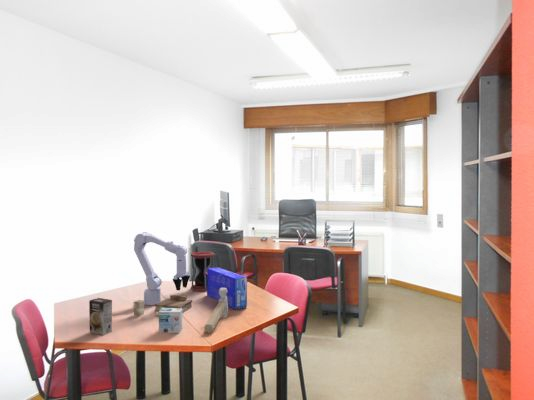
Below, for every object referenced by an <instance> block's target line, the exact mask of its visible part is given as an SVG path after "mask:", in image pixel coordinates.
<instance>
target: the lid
mask: <svg viewBox="0 0 534 400" xmlns="http://www.w3.org/2000/svg"><path fill="white" fill-rule="evenodd" d="M191 302H192V303H193V300H191V299H187V296H186V295H178V294H177V295H176V294H170V295H169V297H166V298H165V299H163V300H161V301H160V302H158V303H156V304H155V305H154V307H155V306H159V307H169V308H183V307H184V306H186V305H188V304H190V303H191Z"/></svg>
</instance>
